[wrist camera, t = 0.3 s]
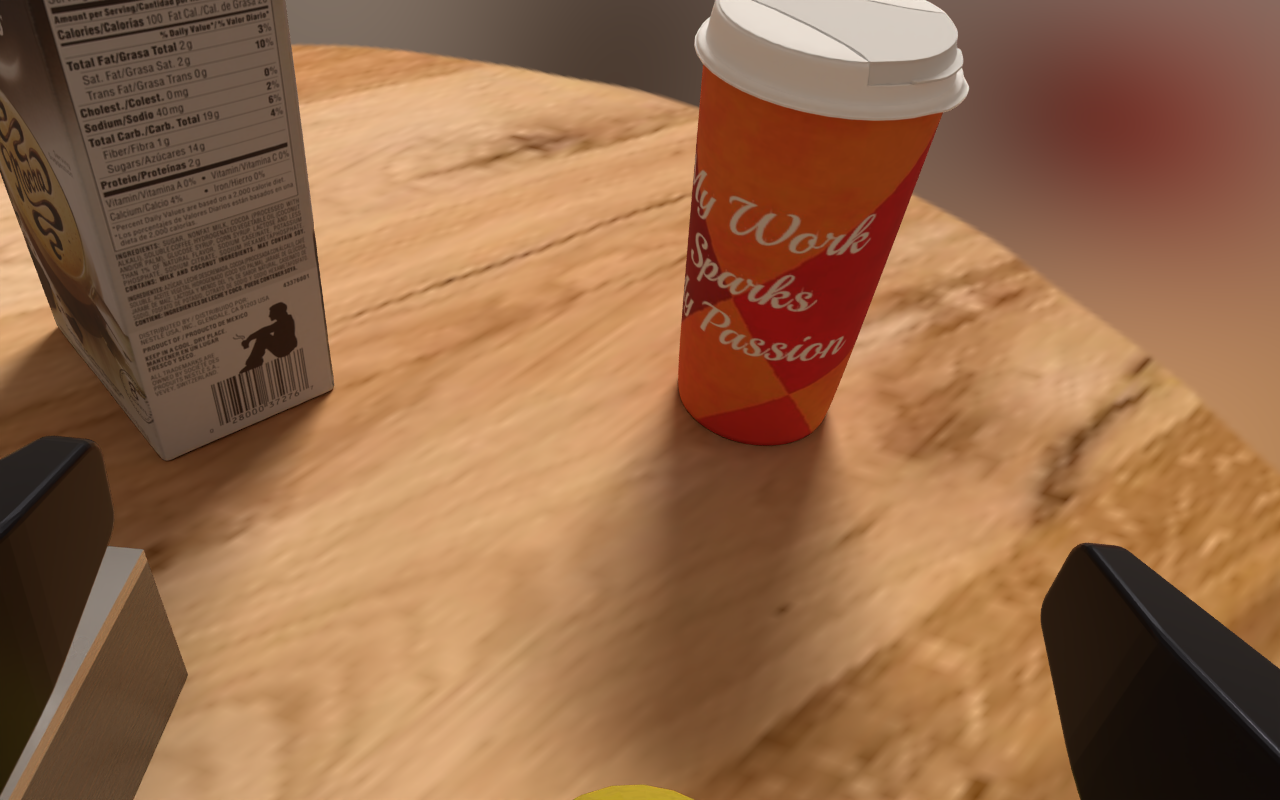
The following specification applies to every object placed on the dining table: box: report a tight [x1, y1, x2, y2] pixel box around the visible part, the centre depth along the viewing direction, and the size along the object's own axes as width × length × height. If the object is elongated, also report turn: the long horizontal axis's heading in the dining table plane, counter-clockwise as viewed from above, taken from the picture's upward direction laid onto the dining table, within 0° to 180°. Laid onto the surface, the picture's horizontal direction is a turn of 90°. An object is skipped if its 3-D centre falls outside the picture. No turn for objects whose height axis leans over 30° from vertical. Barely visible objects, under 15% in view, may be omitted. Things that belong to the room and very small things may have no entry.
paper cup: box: [678, 0, 969, 446], centre depth 32 cm, size 8×8×14 cm
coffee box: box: [0, 0, 334, 461], centre depth 30 cm, size 9×6×16 cm
